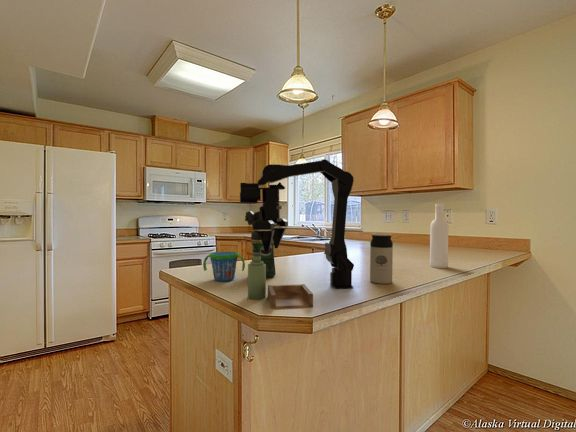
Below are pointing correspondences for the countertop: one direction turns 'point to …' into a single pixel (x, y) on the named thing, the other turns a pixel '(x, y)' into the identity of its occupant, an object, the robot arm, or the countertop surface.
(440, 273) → the countertop surface
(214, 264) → the snack cup
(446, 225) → the bottle
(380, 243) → the travel mug
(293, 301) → the wooden serving tray
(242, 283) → the countertop surface
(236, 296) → the countertop surface
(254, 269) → the bottle
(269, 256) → the coffee jar
